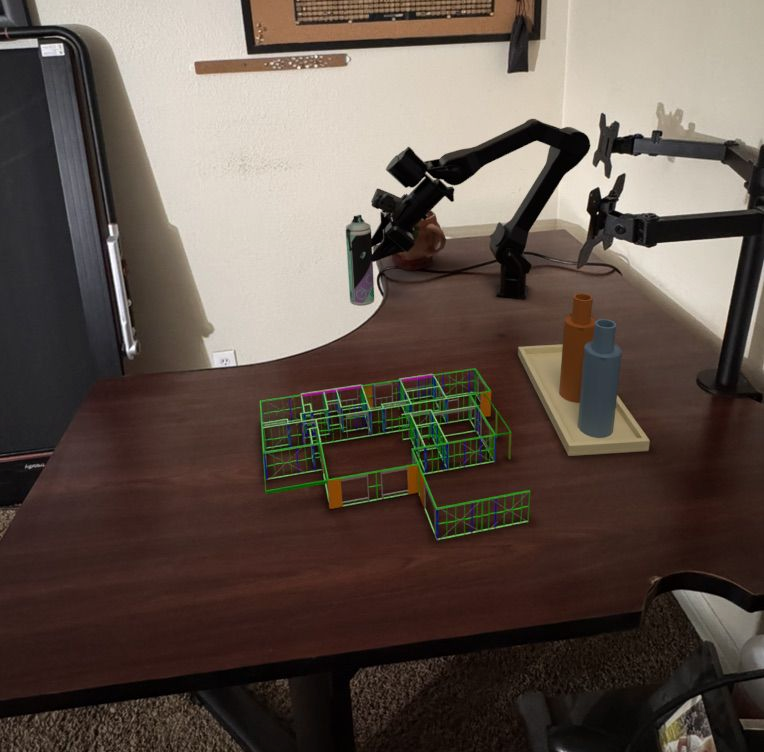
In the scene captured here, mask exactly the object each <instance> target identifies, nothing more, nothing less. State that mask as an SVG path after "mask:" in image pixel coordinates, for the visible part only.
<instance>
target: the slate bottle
mask: <svg viewBox="0 0 764 752" xmlns="http://www.w3.org/2000/svg"><path fill="white" fill-rule="evenodd" d="M616 332H617V323H616V322H615V321H613V320H611V319H606V318H599V319H597V321H595V327H594V338H593V341H590V342H588V343H587V344H586V345H585V348H584V359H583V371H582V382H581V394H580V405H579V417H578V428H579V430H580V431H581V432H582V433H584V434H585V435H588V436H590V437H595V438H605V437H608V436H610V435H611V434H612V433H613V428H614V419H615V410H616V401H617V395H618V391H619V381H620V373H621V364H622V355H623V349H622V348H621V347H620V346H619V345H618V344H617V343H615V341H616Z"/></svg>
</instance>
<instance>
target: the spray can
mask: <svg viewBox="0 0 764 752" xmlns="http://www.w3.org/2000/svg"><path fill="white" fill-rule="evenodd" d="M345 241H346V257H347V258H346V260H347V277H348V287H349V288H348V289H349V290H348V291H349V302H350V304H351V305H353V306H358V307H359V306H360V307H363V306H368V305H372V304H373V303H374V302H375V283H374V281H375V280H374V262H372V261H371V260H370V257H371V256H372V254H373V247H372V228H371V224H370V223H368V222H365V219H363V217H362V214H358V215H353V219H352V220H351V221H350V223H349V224H347V225H346V226H345Z"/></svg>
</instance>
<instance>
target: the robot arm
mask: <svg viewBox="0 0 764 752" xmlns="http://www.w3.org/2000/svg"><path fill="white" fill-rule="evenodd" d="M534 142H539V143H541V144H544V145H547V146H549V148H548V151H547V157H546V161H545V164H544V166H543V168H542V169H541V171H539V172H540V173H539V174H538V175H537V177H536V179H535V181H534V182H533V183H532V185H531V187H530V189H529V190H528V191H527V193H526V195H525V197H524V198H523V200H522V201H521V203H520V205H519V207H518V208H517V210H516V211H515V213H514V215H513V216H512V218H511V219H510V220H509V221H507V222H506V223H504V224H503V223H502V222H498V223H497V224H496V227H495V229H494V231H493V232H492V233H491V234H490V235H489V238H490V241H489V243H488V244H489V250H490V252H491V253H492V255H493V257H494V259H495V260H496V261H497V263H498V264H499V265H500V268H499V269H500V270H499V272H500V273H499V285H498V288H497V291H496V297H500V298H509V299H510V298H512V299H521V300H525V299H527V296H528V291H529V285H527V274H530V271H531V269H532V266H533V264H532V263H531V262H530V261H529V259H528V258H527V256H526V255H525V254H524V252H525V249H526V248H527V247H526V246H527V242H528V237H529V233H530V230H531V229H532V227H533V226H534V224H535V222H536V221H537V220H538V218H539V216H540V215H541V213H542V211H543V210H544V208H545V207H546V205H547V203H548V202H549V201H550V199H551V197H552V195H553V194H554V192H556V190H557V188H558V186H559V185H560V183H561V181H562V180H563V178H564V176H565V175H566V174H567V173H569V172H570V171H572V170H573V169H574V168H575V167H577V166H578V165H579V164H580V163H581V161H583V159H584V158H585V157H586V156H587V154H588V153H589V151H590V149H591V145H592V144H591V141H590V138H589V136H588V135H587V134H586V133H585V132H583V131H581V130H578V129H576V128H575V127H572V126H565V127H561V128H560V127H558V126H554V125H551V124H548V123H545V122H543V121H541V120H539V119H537V118H529V119H527V120H526V121H525V122H523V123H521V124H519V125H517V126H515V127H513V128H511V129H509V130H507V131H505V132H503V133H501V134H499V135H496V136H495V137H492V138H491V139H488V140H486V141H484V142H482V143H480V144H478V145H475V146H472V147H466V148H461V149H457V150H454V151H450V152H447V153H444V154H443V155H442V156H441V157H439V158H435V159H431V160H423V159H422V158H421V157H419V156H418V155H417V154H416V153H415V151H414V149H412V148H411V147H410V146H407V147H406V148H405V149H404V150H402V151H401V152H399V153H398V154H396V155H395V156H394V157H393V158H392V159H391V161H390V162H389V163H388V164H387V166H386V168H385V171H386V172H387V173H388V174H390V176H391V177H393V178H394V179H395V180H396V181H397V182H398V183H399V184H400V185H401V186H403V187H404V188H405V189H407V188H410V189H412V188H413V190H411V192H410V193H409V194H408V193H404V194H403V195H402V196H401V197H399V196H397V195H395V194H393V193H391V192H389V191H385V190H383V189H381V188H376V189H375V191H374V194H373V196H372V197H371V200H370V203H371V207H373V208H374V209H377V210H379V209H380V210H381V211H380V212H379V215H380V216H379V217H380V223H379V225H378V226H377V228H376V230H375V231H374V233H373V235H372V236H371V238H372V248H373V247H376V246H377V247H376V248H375V250H374V251H373V252H372V256H371V257H370V260H371V261H372V262H373V263H374V262H378V261H380V260H383V259H385V258H388V257H392V255H394V254H397V253H400V252H405V251H406V252H408V251H409V250H410V249H411V248H412V247H413V246H414V240H413V236H412V233H413V232H414V227H415V226H416V225H417V224H418V223H419V222H420V221H421V220H422V219H424V220H426V219H427V218H428V216H427V214H428V213H429V212H430V211H433V209H434V208H435V207H436V206H437V205H438V204H439V203H440V202H441V201H442V200H443V199H444V198H446V199H447V200H449V201H450V202H451V203H454V202H455V195H454V194H455V188H454V186H459V185H461V184H463V183H464V182H466V181H468V180H469V179H471V178H472V177H473V176H474V175H476V174H477V173H478V171H480V169H482V168H483V167H484V166H486V165H488V164H490V163H493V162H494V161H497V160H498V159H500V158H503V157H505V156H507V155H509V154H511V153H513V152H515V151H517V150H520V149H521V148H524V147H526V146H528V145H530V144H532V143H534ZM444 182H445V183H446V184H447V185H446V184H445V183H444ZM448 185H450V186H448Z"/></svg>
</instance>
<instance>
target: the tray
mask: <svg viewBox="0 0 764 752" xmlns="http://www.w3.org/2000/svg"><path fill="white" fill-rule="evenodd" d="M562 347H563V343H562V344H545V345H527V346H526V345H525V346H518V347H517V356H518V358H519V360H520V363H521V365H522V367H523V369H524V370H525V372H526V375H527V377H528V378H529V380H530V382H531V384H532V386H533V388H534V391H535V393H536V395H537V396H538V398H539V400H540V403H541V405H542V407H543V408H544V410H545V413H546V414H547V416H548V419H549V420H550V422H551V424H552V426H553V428H554V430H555V432H556V434H557V436H558V438H559V440H560V442H561V444H562V447H563V448H564V450H565V452H566V454H567V456H568V457H573V456H574V457H575V456H590V455H591V456H592V455H605V454H606V455H607V454H622V453H637V452H638V453H639V452H649V450H650V443H651V441H650V439H649V437H648V435H646V433H645V432H644V430H643V429H642V428H641V426H640V424H639V423H638V422H637V420H636V419H635V418H634V416H633V414H632V413H631V411H630V410H629V409H628V408H627V407H626V405H625V403H624V402H623V401H622V399H621V398H620V397H619V395H618V394H617V401H616V410H615V419H614V428H613V433H612V434H611V435H610V436H608V437H605V438H595V437H590V436H588V435H585V434H584V433H582V432H581V431H580V430H579V428H578V417H579V405H580V403H575V402H570V401H567V400H565V399H563V398H562V397H561V396H560V394H559V389H560V375H561V361H562Z"/></svg>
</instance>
